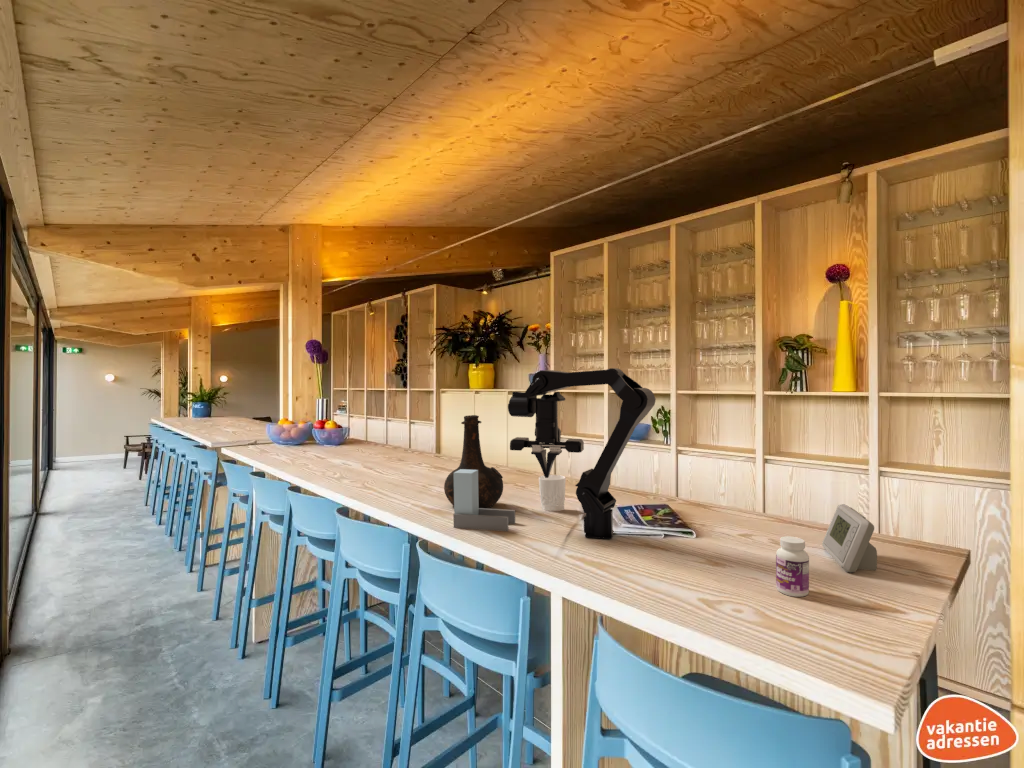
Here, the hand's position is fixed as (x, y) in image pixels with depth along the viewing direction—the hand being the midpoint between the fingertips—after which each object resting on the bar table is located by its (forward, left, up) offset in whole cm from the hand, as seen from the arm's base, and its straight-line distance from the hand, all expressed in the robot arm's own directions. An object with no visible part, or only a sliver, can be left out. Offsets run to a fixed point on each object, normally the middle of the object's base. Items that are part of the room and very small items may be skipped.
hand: (546, 477), depth 141 cm
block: (+21, +5, -12) cm, 25 cm away
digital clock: (-66, +10, -13) cm, 69 cm away
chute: (+16, +5, -13) cm, 21 cm away
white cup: (+2, -16, -13) cm, 21 cm away
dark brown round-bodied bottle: (+26, -15, -13) cm, 33 cm away
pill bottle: (-52, +30, -13) cm, 61 cm away
